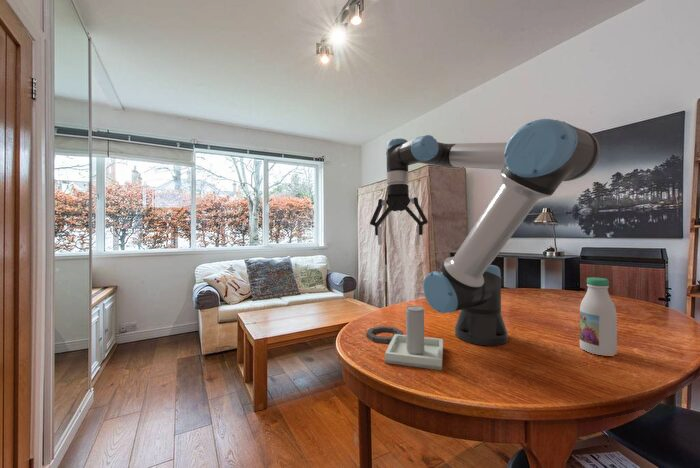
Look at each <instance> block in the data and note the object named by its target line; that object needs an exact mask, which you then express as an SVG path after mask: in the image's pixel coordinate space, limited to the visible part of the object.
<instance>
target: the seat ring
mask: <svg viewBox="0 0 700 468" xmlns="http://www.w3.org/2000/svg"><path fill="white" fill-rule="evenodd" d="M381 332H386V333H387V332H388V333H391V334H392V333H393V334H400V335H404V332H403V331H402V330H400V329H399V328H397V327H394V326H386V325H385V326H383V325H382V326H380V325H379V326H375V327H370V328H369V329H368V330H367V331H366V334H365V335H366V338H367V339H369V340H370V341H371V342H374V343H383V344H390V342H391V340H392V338H393V336H394V335H392V336H388V337H387V336H386V337H385V336H376V335H375V334H376V333H381Z"/></svg>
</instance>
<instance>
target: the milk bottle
mask: <svg viewBox="0 0 700 468" xmlns="http://www.w3.org/2000/svg"><path fill="white" fill-rule="evenodd" d="M609 285H610V279H608V278H604V277H603V278H602V277H593V276H591V277H586V286H587V290H586V293H585V295H584V296H583V298H582V300H581V302H580V306H579V348H580V349H581V350H582V349H583V350H585V351H587V352H590V353H594V354H599V355H614V354H616V355H617V354H618V317H617V309H616V305H615V304H614V302H613V299H612V298H611V296H610V293H609V289H608V288H610V287H609ZM583 350H582V351H583ZM585 351H584V352H585ZM587 352H586V353H587ZM590 353H589V354H590Z"/></svg>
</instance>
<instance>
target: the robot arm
mask: <svg viewBox="0 0 700 468" xmlns="http://www.w3.org/2000/svg"><path fill="white" fill-rule="evenodd" d="M600 148H601V147H600V144H599V141H598V140H597V138H596V137H595V135H593V134H592V133H591V132H589V131H588V130H584V129H581V128H580V127H576V126H574V125H572V124H570V123H568V122H566V121H562V120H558V119H550V118H540V119H535V120H533V121H531V122H528V123H526V124H523V126H521V127H520V128H518V129H517V130H515V132H514V133H513V134H512V135H511V137H509V139H508V141H507V142H476V143H475V142H474V143H473V142H472V143H469V142H468V143H465V142H464V143H463V142H462V143H444V142H439V141H437V139H436V138H435V137H434V136H433V135H430V134H426V135H421V136H418V137H416V138H414V139H412V140H409V141H408V140H407V139H405V138H394V139H393V138H392V139H390V140H388V141H387V143H386V152H385V155H386V184H387V186H386V193H387V194H386V195H387V196H386V199H382V198H378V203H377V207H376V208H375V211H374V213H373V215H372V217H371V220H370V221H369V224H370V225H371V226H373V227H374V235H375V236H377V244H378V246H380V245H383V243H382V242H383V241H382V238H383V237H382V231H383V230H382V226H381V224H382V223H383V222H384V221H385V219H387V217H388V216H389V214H390V213H391V212H392V211H393V212H399V211H400V212H404V211H406V212H407V214H408V215H409V216H410V217H411V218H412V220H414V221H415V222H416V223H417V225H416V229H415V230H416V245H417V246H419V245H421V243H420V242H421V240H420V239H421V237H420V236H422V235H423V233H424V231H423V229H424V228H423V227H424V225H427V224H428V223H429V221H428V219H427V217H426V215H425V213H424V212H423V210H422V208H421V206H420V203H419V199H418V197H416V196H415V197H413V198H410V196H409V194H410V193H409V191H410V190H409V187H410V186H409V166H410V165H414V164H424V165H431V166H439V167H440V166H441V167H444V168H468V169H469V168H470V169H485V170H501V171H500V176H501V179H502V180H501V183H500V185H499V186H498V188H497V189H496V190H495V192H494V194H493V196H492V197H491V198H490V200H489V202H488V204H487V205H486V206H485V207H484V209H483V211H482V213H481V214H480V216H479V217H478V218H477V220H476V221H475V224H474V225H473V227H472V228H471V229H470V231H469V233H468V234H467V236H466V237H465V239H464V241H463V242H462V243H461V245H460V246H459V247H458V249H457V251H456V253H455V254H454V256H449V257H447V258H445V259H444V261H443V262H442V264H441V265H440V267H439V269H437V271H436V270H434V271H431V272H429V273H428V274H427V275H426V276H425V278H424V279H423V284H422V290H423V293H424V294H423V295H424V297H425V300H426V302H427V304H428V305H429V306H430V307H431V308H432V309H433V310H434V311H436V312H438V313H441V314H451V313H455V312H457V311H459V314H458V317H457V320H456V323H455V326H454V334H455V336H456V338H458V339H460V340H461V341H463V342H467V343H470V344H473V345H474V344H475V345H478V346H488V347H489V346H490V347H491V346H500V345H504V344H506V343H507V342H508V341H509V336H508V330H507V326H506V324H505V322H504V319H503V316H502V276H501V275H502V274H501V269H500V267H499V266H498V265H494V264H492V262H494V260H495V259H496V257H497V256H498V255H499V253H501V251H502V250H503V248H504V247H505V246H506V244H507V242H509V240H510V238H511V237H513V235H514V234H515V232H516V230H518V228H519V227H520V225H521V224H522V223H523V222H524V220H525V219H526V217H527V216H528V215H529V213H530V212H531V211H532V210H533V208H534V207H535V206H536V204H537V203H538V201H539V200H541V199H544V198H548V197H552V196H553V194H555V192H556V190H557V189H558V188H559V187H560V186H561V184H562V183H563V182H570V181H574V180H577V179H580V178H582V177H583V176H586V175H587V174H588V173H590V171H592V170H593V168H594V167H595V166H596V165H597V164H598V161H599V159H600V154H601V149H600ZM410 203H411V204H412V205H414V207H415V209H416V210H417V212H418V214H419V216H420V217H421V220H422V221H421V220H420V218H419V217H418V216H417V215H416V214H415V213H414V212H413V211H412V209H410V207H409V205H410ZM385 205H387V207H386V209H385V211H384V212H383V213H382V215H380V213H381V211H382V209H383V206H385ZM379 215H380V217H379Z"/></svg>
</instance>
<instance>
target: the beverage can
mask: <svg viewBox="0 0 700 468" xmlns="http://www.w3.org/2000/svg"><path fill="white" fill-rule="evenodd" d="M405 335H406V350H407V351H408V352H409V353H410V354H414V355H420V354H422V353H423V352H424V337H425V310H424V307H423V306H421V305H420V306H419V305H418V306H417V305H408V306H406V310H405Z"/></svg>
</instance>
